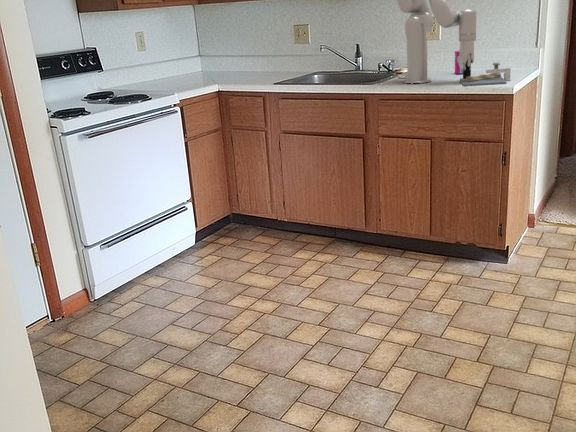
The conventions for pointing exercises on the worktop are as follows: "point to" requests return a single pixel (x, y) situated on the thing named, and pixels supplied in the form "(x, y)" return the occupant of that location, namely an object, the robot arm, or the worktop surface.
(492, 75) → the link
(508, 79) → the keeper
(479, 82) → the base plate
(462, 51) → the robot arm
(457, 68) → the supplement box
